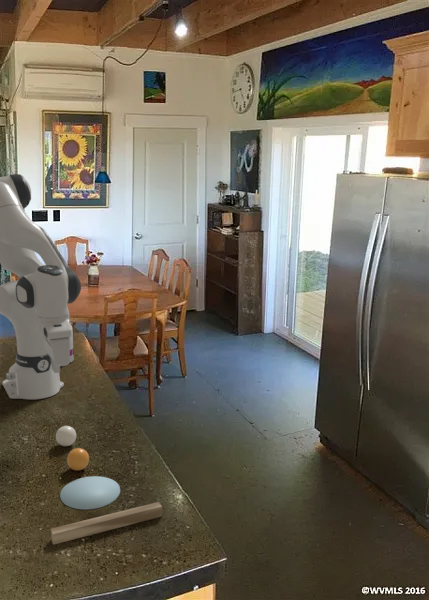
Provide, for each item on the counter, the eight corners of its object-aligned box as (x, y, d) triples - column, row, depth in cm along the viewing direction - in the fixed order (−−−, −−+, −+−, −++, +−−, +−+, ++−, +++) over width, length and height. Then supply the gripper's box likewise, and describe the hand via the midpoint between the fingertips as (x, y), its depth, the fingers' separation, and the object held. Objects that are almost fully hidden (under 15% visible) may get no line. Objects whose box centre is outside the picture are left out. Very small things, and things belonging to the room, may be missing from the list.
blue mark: (50, 489, 144) (50, 489, 143) (101, 471, 152) (101, 470, 152) (77, 516, 133) (77, 516, 133) (131, 495, 142) (131, 494, 142)
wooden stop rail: (51, 539, 125) (50, 528, 125) (158, 511, 136) (158, 501, 135) (53, 544, 124) (52, 534, 123) (161, 516, 134) (161, 506, 133)
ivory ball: (52, 444, 166) (51, 426, 164) (71, 438, 169) (70, 420, 168) (61, 451, 162) (60, 433, 160) (80, 445, 165) (79, 427, 164)
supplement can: (68, 366, 226) (66, 328, 222) (48, 364, 227) (46, 326, 224) (77, 359, 233) (75, 322, 230) (57, 357, 235) (55, 320, 231)
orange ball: (63, 468, 153) (62, 448, 152) (83, 461, 157) (82, 442, 156) (73, 476, 149) (72, 456, 148) (93, 469, 153) (92, 450, 151)
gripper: (35, 316, 174) (38, 361, 177) (48, 335, 156) (51, 385, 159) (57, 314, 177) (59, 358, 180) (73, 332, 159) (75, 381, 162)
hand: (56, 371), depth 170 cm, fingers closed
